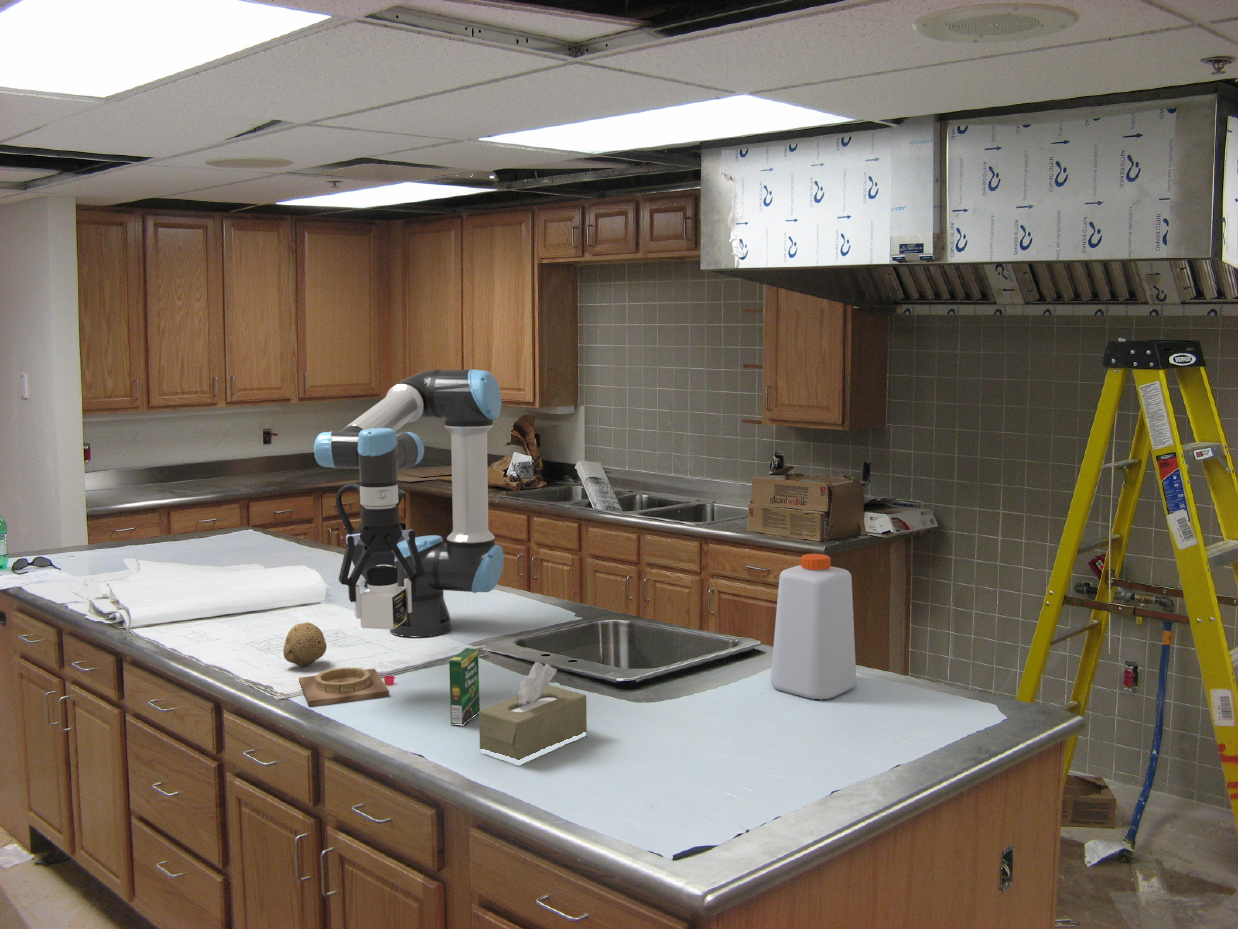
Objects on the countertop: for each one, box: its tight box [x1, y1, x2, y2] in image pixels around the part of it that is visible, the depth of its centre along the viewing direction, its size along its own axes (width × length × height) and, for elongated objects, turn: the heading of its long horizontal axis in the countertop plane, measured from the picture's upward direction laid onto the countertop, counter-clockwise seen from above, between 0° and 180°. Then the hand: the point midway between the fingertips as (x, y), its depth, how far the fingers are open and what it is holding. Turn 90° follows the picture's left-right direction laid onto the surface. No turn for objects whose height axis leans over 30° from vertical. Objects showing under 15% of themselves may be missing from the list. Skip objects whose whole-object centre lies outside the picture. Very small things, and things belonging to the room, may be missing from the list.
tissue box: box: [478, 661, 588, 760], centre depth 200 cm, size 19×10×16 cm, turn 141°
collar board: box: [298, 666, 390, 708], centre depth 231 cm, size 16×16×3 cm
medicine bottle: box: [360, 565, 406, 630], centre depth 225 cm, size 7×7×12 cm
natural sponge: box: [283, 622, 327, 668], centre depth 246 cm, size 9×9×10 cm
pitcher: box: [335, 483, 406, 589], centre depth 321 cm, size 17×21×30 cm
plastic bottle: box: [770, 553, 857, 701], centre depth 230 cm, size 15×15×28 cm
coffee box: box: [448, 647, 481, 725], centre depth 213 cm, size 8×3×13 cm, turn 163°
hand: (383, 614), depth 225 cm, fingers closed on medicine bottle, 10 cm apart
